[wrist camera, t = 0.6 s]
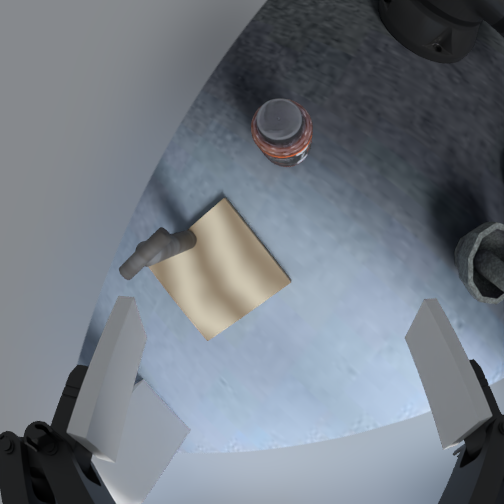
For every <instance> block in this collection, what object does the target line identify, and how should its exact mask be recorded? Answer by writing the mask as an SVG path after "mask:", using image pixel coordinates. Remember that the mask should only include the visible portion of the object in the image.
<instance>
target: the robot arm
mask: <svg viewBox="0 0 504 504" xmlns="http://www.w3.org/2000/svg"><path fill="white" fill-rule="evenodd" d="M378 7H379V13H380V16H381V19H382V21H383V23H384V25H385V26H386V28H387V29H388V30H389V32H390V33H391V34H392V35H393V36H394V37H395V38H396V39H397V40H398V41H399V42H400V43H401V44H402V45H404V46H405V47H406V48H408V49H409V50H411V51H412V52H414V53H415V54H417V55H419V56H421V57H423V58H426V59H428V60H431V61H434V62H439V63H454V62H458V61H460V60H462V59H463V58H464V57H465V56H466V55H467V54H468V53H469V52H470V51H471V50H472V48H473V47H474V44H475V40H476V37H477V33H478V29H479V25H480V23H481V22H482V21H483V20H485V21H486V22H487V23H488V24H489V25H491V26H492V27H493V28H494V29H495V30H496V31H497V32H498V33H500V34H501V35H502V36H503V37H504V0H379V6H378ZM405 339H406V342H407V344H408V347H409V349H410V352H411V354H412V357H413V360H414V362H415V365H416V368H417V370H418V373H419V376H420V378H421V381H422V384H423V387H424V390H425V393H426V396H427V398H428V401H429V404H430V408H431V411H432V414H433V417H434V420H435V423H436V427H437V430H438V433H439V436H440V440H441V444H442V447H443V450H444V449H447V448H449V447H452V446H455V445H457V444H459V443H460V442H461V441H462V440H464V441H465V444H464V445H462V446H461V447H460V448H458V449H457V450H456V451H455V452H454V453H453V455H456V454H457V453H459V452H460V454H459V455H458V456H457V457H458V459H457V462H456V464H455V467H454V469H453V472H452V474H451V477H450V479H449V481H448V484H447V486H446V488H445V490H444V492H443V495H442V497H441V499H440V501H439V503H438V504H504V415H502V414H501V412H500V410H499V408H498V406H497V403H496V400H495V398H494V396H493V393H492V391H491V389H490V386H488V382H487V379H485V375H484V373H483V371H482V369H481V367H480V366H479V365H478V363H477V362H476V361H475V360H474V359H473V360H469V359H468V357H467V355H466V353H465V351H464V349H463V347H462V345H461V343H460V341H459V339H458V337H457V335H456V333H455V331H454V329H453V328H452V326H451V324H450V322H449V320H448V318H447V316H446V315H445V313H444V311H443V309H442V307H441V306H440V304H439V302H438V300H437V299H436V298H435V299H424V300H423V303H422V305H421V307H420V309H419V311H418V313H417V315H416V317H415V319H414V321H413V323H412V325H411V327H410V329H409V331H408V332H407V334H406V336H405ZM146 340H147V336H146V333H145V330H144V327H143V324H142V321H141V318H140V314H139V311H138V308H137V305H136V302H135V298H134V297H125V296H118V298H117V301H116V303H115V305H114V307H113V309H112V312H111V314H110V316H109V319H108V321H107V323H106V325H105V328H104V330H103V333H102V335H101V337H100V340H99V342H98V345H97V347H96V350H95V352H94V355H93V357H92V360H91V362H90V365H89V367H88V366H83V365H77V366H76V367H75V368H74V370H73V371H72V372H71V373H70V375H69V377H68V380H67V382H66V387H65V388H64V390H63V393H62V396H61V398H60V401H59V403H58V406H57V409H56V412H55V415H54V418H53V420H52V424H51V426H49V425H48V424H47V423H45V422H41V421H36V422H33V423H31V424H30V425H28V427H27V428H26V430H25V433H24V437H18V436H17V435H15V434H14V433H13V432H10V431H6V432H3V433H2V434H0V491H1V497H2V502H3V504H116V502H115V501H114V499H113V498H112V496H111V494H110V493H109V491H108V489H107V487H106V486H105V484H104V482H103V480H102V479H101V477H100V475H99V473H98V471H97V469H96V468H95V466H94V464H93V462H92V461H91V459H92V455H94V456H96V457H97V458H98V459H102V460H105V461H109V462H113V463H116V458H117V454H118V449H119V444H120V440H121V435H122V431H123V427H124V422H125V418H126V414H127V410H128V406H129V402H130V398H131V394H132V390H133V387H134V383H135V379H136V375H137V372H138V368H139V365H140V361H141V358H142V354H143V351H144V347H145V344H146Z"/></svg>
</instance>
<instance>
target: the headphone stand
mask: <svg viewBox="0 0 504 504" xmlns="http://www.w3.org/2000/svg"><path fill="white" fill-rule="evenodd" d="M144 266H146V267H149V268H150V270H151V271H152V272H153V274H154V275H155V276H156V278H157V279H158V280H159V281H160V283H161V284H162V285H163V287H164V288H165V289H166V291H167V292H168V293H169V294H170V296H171V297H172V298H173V300H174V301H175V302H176V303H177V305H178V306H179V307H180V308H181V310H182V311H183V312H184V313H185V315H186V316H187V317H188V318H189V319H190V321H191V322H192V323H193V324H194V326H195V327H196V328H197V329H198V330H199V332H200V333H201V334H202V335H203V336H204V338H205V339H206V340H207V341H209V340H210V339H211V338H213V337H214V336H216V335H217V334H219V333H220V332H222V331H223V330H225V329H226V328H228V327H229V326H230V325H232V324H233V323H235V322H236V321H238V320H239V319H241V318H242V317H243V316H245V315H246V314H248V313H249V312H250V311H252V310H253V309H255V308H256V307H258V306H259V305H260V304H262V303H263V302H265V301H266V300H267V299H269V298H270V297H271V296H273V295H274V294H276V293H277V292H278V291H280V290H281V289H283V288H284V287H285V286H287V285H288V284H289V283H291V279H290V278H289V277H288V275H287V274H286V273H285V271H284V270H283V269H282V268H281V266H280V265H279V264H278V263H277V261H276V260H275V259H274V257H273V256H272V255H271V254H270V252H269V251H268V250H267V249H266V247H265V246H264V245H263V244H262V242H261V241H260V240H259V238H258V237H257V236H256V235H255V233H254V232H253V231H252V230H251V228H250V227H249V226H248V225H247V223H246V222H245V221H244V220H243V218H242V217H241V216H240V215H239V213H238V212H237V211H236V209H235V208H234V207H233V206H232V204H231V203H230V202H229V201H228V199H227V198H223V199H222V200H221V201H220V202H219V203H218V204H216V205H215V206H214V207H213V208H212V209H211V210H209V211H208V212H207V213H206V214H205V215H204V216H203V217H201V218H200V219H199V220H198V221H197V222H196V223H195V224H193V225H192V226H191V227H190V228H189V229H188V230H186V231H182V232H178V233H174V234H170V233H169V232H168V231H167V230H166V229H164V228H162V227H160V228H159V229H158V230H157V231H156V232H155V233H154V234H153V235H152V236H151V237H150V238H149V239H148V240H147V241H143V242H141V243H139V244H138V246H137V247H136V251H135V252H134V253H133V254H132V255H131V256H130V257H129V258H128V259H127V261H126V262H125V263H124V264H123V265H122V266H121V267H120V268H119V271H120V274H121V275H122V276H123V277H124V278H125V279H127V280H130V279H132V278H133V277H134V276H135V275H136V274H137V273H138V272H139V271H140V270H141V269H142V268H143V267H144Z"/></svg>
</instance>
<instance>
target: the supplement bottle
mask: <svg viewBox="0 0 504 504" xmlns="http://www.w3.org/2000/svg"><path fill="white" fill-rule="evenodd" d="M312 129H313V128H312V121H311V118H310V116H309V114H308V112H307V111H306V110H305V108H304V107H303V106H301V105H300V104H298V103H296V102H294V101H292V100H288V99H283V98H277V99H272V100H269V101H267V102H266V103H264V104H263V105H262V106H261V107H260V108H259V109H258V110H257V111H256V112H255V114H254V116H253V119H252V122H251V132H252V137H253V139H254V141H255V143H256V144H257V146H258V147H259V148H260V149H261V151H262V152H263V153H264V155H265V156H266V157H267V158H268V159H269V160H270V161H271V162H272V163H274V164H276V165H279V166H283V167H291V166H294V165H297V164H299V163H300V162H302V161H303V160H304V159H305V158H306V157H307V155H308V153H309V151H310V148H311V140H312Z"/></svg>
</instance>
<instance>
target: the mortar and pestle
mask: <svg viewBox="0 0 504 504" xmlns="http://www.w3.org/2000/svg"><path fill="white" fill-rule="evenodd" d="M454 255H455V266H456V268H457V269H458V270H459V278H460V279H461V281H462V282H463V284H464V285H465V287H466V288H467V290H468V291H469V293H470V294H471V295H472V296H473V297H474V299H476V300H477V301H479V302H484V303H491V304H498V303H499V302H500V301H502V300H503V299H504V225H503V224H500V223H497V222H485V223H483V224H482V225H480V226H478V227H477V228H475V229H474V230H472V231H470V232H469V233H468V234H466V235H465V236H463V237H461V238H460V240H459V242H458V244H457V246H456V249H455V251H454Z"/></svg>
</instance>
